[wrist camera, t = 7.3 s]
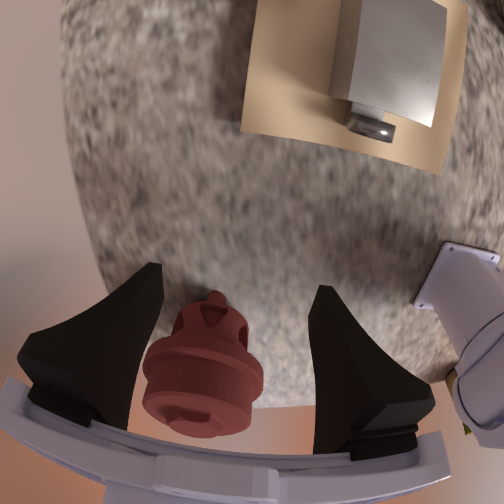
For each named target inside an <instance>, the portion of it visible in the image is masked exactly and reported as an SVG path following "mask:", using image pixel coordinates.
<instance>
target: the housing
mask: <svg viewBox="0 0 504 504" xmlns="http://www.w3.org/2000/svg"><path fill="white" fill-rule="evenodd" d="M446 23H447V8H445V7H444V6H442V5H440V4H438V3H436V2H435V1H433V0H341V7H340V15H339V23H338V30H337V38H336V44H335V51H334V58H333V64H332V71H331V77H330V83H329V89H328V95H327V96H329V97H334V98H338V99H342V100H346V101H347V106H346V111H345V116H344V121H343V126H345V127H346V128H347V130H348V131H351V132H353V133H356V134H359V135H362V136H365V137H368V138H371V139H375V140H378V141H382V142H386V143H392V142H393V138H394V134H395V130H396V125H393V124H390V123H388V122H385V121H383V118H384V113H385V112H388V113H391V114H394V115H397V116H400V117H403V118H406V119H409V120H412V121H415V122H418V123H421V124H423V125H426V126H429V127H431V125H432V121H433V116H434V111H435V106H436V101H437V96H438V91H439V85H440V78H441V72H442V65H443V57H444V48H445V37H446Z"/></svg>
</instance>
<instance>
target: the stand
mask: <svg viewBox="0 0 504 504" xmlns="http://www.w3.org/2000/svg"><path fill="white" fill-rule="evenodd" d="M433 1H435V2H436V3H438V4H440V5H442V6H444V7H445V8H447V23H446V37H445V48H444V57H443V65H442V72H441V78H440V85H439V91H438V96H437V101H436V106H435V111H434V116H433V121H432V125H431V127H429V126H426V125H423V124H421V123H418V122H415V121H412V120H409V119H406V118H403V117H400V116H397V115H394V114H391V113H388V112H385V113H384V118H383V121H385V122H388V123H390V124H393V125H396V130H395V134H394V138H393V142H392V143H386V142H382V141H378V140H375V139H371V138H368V137H365V136H362V135H359V134H356V133H353V132H351V131H348V130H347V128H346V127H345V126H343V121H344V116H345V111H346V106H347V101H346V100H342V99H338V98H334V97H329V96H327V95H328V89H329V83H330V77H331V71H332V64H333V58H334V51H335V44H336V38H337V30H338V23H339V15H340V7H341V0H258V4H257V10H256V17H255V24H254V30H253V37H252V44H251V52H250V59H249V66H248V74H247V81H246V89H245V97H244V105H243V113H242V121H241V130H240V132H248V133H256V134H264V135H271V136H278V137H284V138H291V139H297V140H302V141H308V142H313V143H318V144H324V145H328V146H333V147H338V148H343V149H347V150H351V151H356V152H360V153H364V154H368V155H372V156H376V157H379V158H383V159H387V160H390V161H394V162H397V163H401V164H404V165H408V166H411V167H414V168H417V169H420V170H424V171H427V172H430V173H433V174H436V175H438V176H440V174H441V171H442V168H443V164H444V161H445V157H446V154H447V150H448V146H449V143H450V139H451V135H452V130H453V126H454V122H455V117H456V113H457V108H458V102H459V97H460V91H461V85H462V78H463V71H464V63H465V54H466V42H467V23H468V6H466V5H464V4H463V3H461V2H460V1H458V0H433Z"/></svg>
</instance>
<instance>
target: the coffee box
mask: <svg viewBox="0 0 504 504" xmlns="http://www.w3.org/2000/svg"><path fill="white" fill-rule="evenodd" d="M500 1H501V6H502V11H503V16H504V0H500Z"/></svg>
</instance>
